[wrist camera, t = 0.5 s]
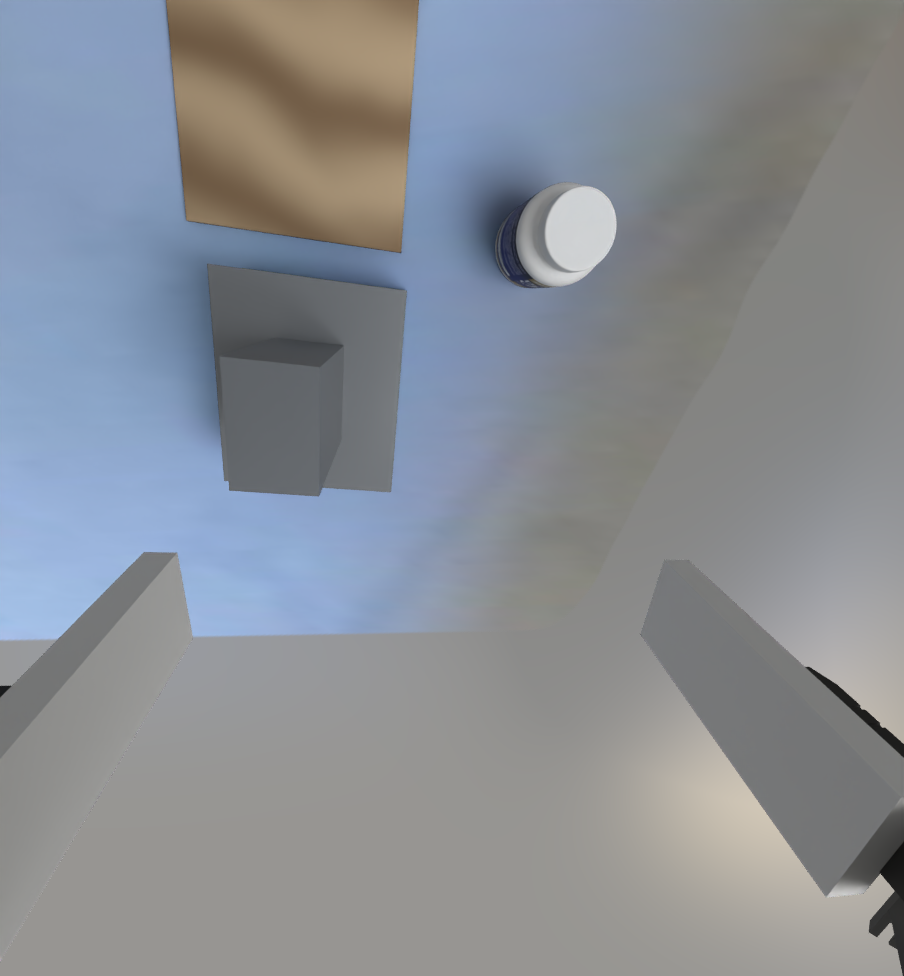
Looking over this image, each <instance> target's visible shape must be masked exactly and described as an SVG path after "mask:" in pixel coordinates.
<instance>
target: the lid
mask: <svg viewBox="0 0 904 976" xmlns="http://www.w3.org/2000/svg"><path fill="white" fill-rule="evenodd" d="M207 268H208V280H209V293H210V306H211V318H212V331H213V344H214V356H215V369H216V382H217V394H218V407H219V420H220V432H221V445H222V458H223V470H224V481H229V491H244V492H260V493H275V494H290V495H305V496H319V495H320V493H321V490H322V488H336V489H351V490H366V491H380V492H391V486H392V473H393V460H394V448H395V435H396V422H397V409H398V396H399V383H400V370H401V357H402V345H403V332H404V319H405V306H406V293H407V291H403V290H396V289H388V288H381V287H374V286H366V285H359V284H352V283H344V282H337V281H330V280H323V279H315V278H308V277H301V276H293V275H286V274H279V273H271V272H264V271H257V270H250V269H242V268H235V267H228V266H220V265H213V264H207Z"/></svg>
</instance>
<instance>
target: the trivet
mask: <svg viewBox="0 0 904 976" xmlns="http://www.w3.org/2000/svg"><path fill="white" fill-rule="evenodd" d="M166 3H167V14H168V25H169V36H170V47H171V57H172V68H173V79H174V90H175V101H176V112H177V123H178V134H179V145H180V155H181V166H182V177H183V188H184V199H185V210H186V220H187V221H191V222H197V223H204V224H211V225H217V226H224V227H231V228H238V229H244V230H251V231H258V232H264V233H271V234H278V235H284V236H291V237H298V238H304V239H311V240H318V241H324V242H331V243H338V244H344V245H351V246H358V247H365V248H371V249H378V250H385V251H391V252H398V253H401V245H402V231H403V217H404V203H405V189H406V175H407V161H408V147H409V133H410V119H411V105H412V90H413V76H414V62H415V48H416V34H417V20H418V6H419V0H166Z"/></svg>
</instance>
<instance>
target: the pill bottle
mask: <svg viewBox="0 0 904 976" xmlns="http://www.w3.org/2000/svg"><path fill="white" fill-rule="evenodd" d="M615 234H616V215H615V211H614V208H613V206H612V203H611V202H610V200H609V199H608V197H607V196H606V195H605V194H604V193H603V192H601V191H600V190H598V189H596V188H593V187H590V186H582V185H579V184H576V183H571V182H564V183H558V184H554V185H552V186H549V187H547V188H545V189H544V190H542V191H541V192H539V193H537V194H536V195H535V196H533V197H532V198H531V199H529V200H528V201H526V202H525V203H524V204H522V205H521V206H519V207H518V208H517V209H515V210H514V211H513V212H511V213H510V214H509V216H508V217H507V218H506V219H505V220H504V222H503V223H502V225H501V227H500V229H499V231H498V234H497V238H496V245H495V253H496V259H497V263H498V265H499V268H500V270H501V271H502V273H503V274H504V276H505V277H506V278H507V279H508V280H509V281H511V282H512V283H513V284H515V285H517V286H520V287H524V288H549V287H561V286H566V285H570V284H572V283H575V282H577V281H578V280H580V279H582V278H583V277H585V276H586V275H587V274H588V273H589V272H590V271H591V270H592V269H593V268H594V266H595V265H597V264H598V263H599V262H600V261H601V260H602V259H603V258H604V257H605V256H606V255H607V253H608V252H609V250H610V248H611V246H612V244H613V241H614V238H615Z"/></svg>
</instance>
